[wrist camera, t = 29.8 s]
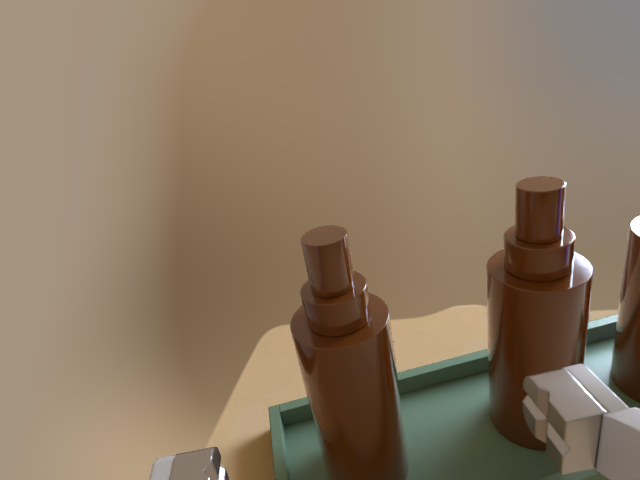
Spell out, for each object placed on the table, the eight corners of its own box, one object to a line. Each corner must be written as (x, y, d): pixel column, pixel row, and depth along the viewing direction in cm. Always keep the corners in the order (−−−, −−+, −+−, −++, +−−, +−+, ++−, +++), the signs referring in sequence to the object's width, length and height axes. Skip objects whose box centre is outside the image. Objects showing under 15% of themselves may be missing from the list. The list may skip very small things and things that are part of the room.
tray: (291, 591, 24) (283, 569, 23) (274, 426, 34) (268, 406, 34) (802, 436, 27) (812, 410, 26) (642, 327, 37) (645, 306, 36)
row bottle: (517, 461, 28) (522, 212, 21) (474, 398, 33) (466, 181, 26) (598, 437, 28) (629, 186, 21) (543, 379, 33) (554, 160, 26)
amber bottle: (335, 515, 27) (274, 272, 20) (319, 442, 32) (266, 227, 25) (422, 490, 27) (393, 244, 20) (393, 422, 32) (362, 205, 25)
